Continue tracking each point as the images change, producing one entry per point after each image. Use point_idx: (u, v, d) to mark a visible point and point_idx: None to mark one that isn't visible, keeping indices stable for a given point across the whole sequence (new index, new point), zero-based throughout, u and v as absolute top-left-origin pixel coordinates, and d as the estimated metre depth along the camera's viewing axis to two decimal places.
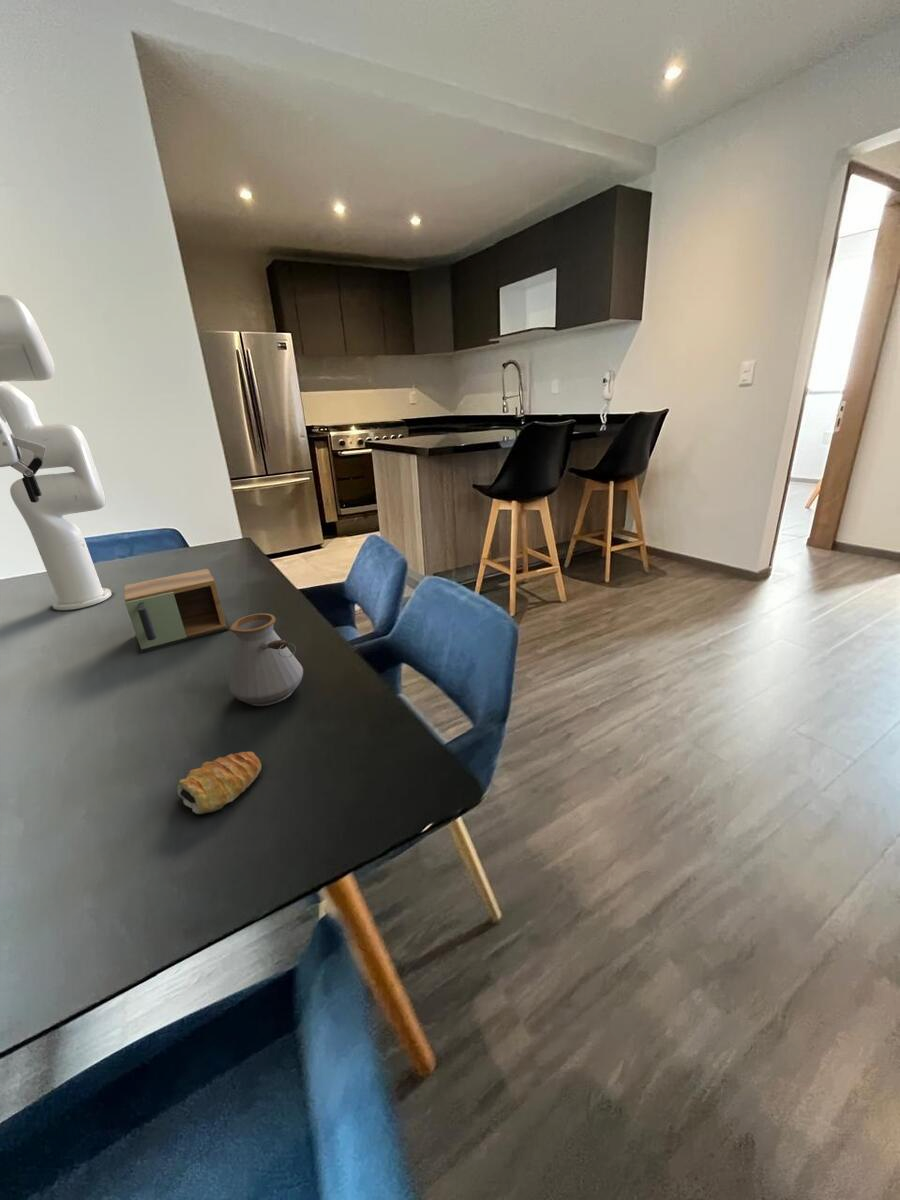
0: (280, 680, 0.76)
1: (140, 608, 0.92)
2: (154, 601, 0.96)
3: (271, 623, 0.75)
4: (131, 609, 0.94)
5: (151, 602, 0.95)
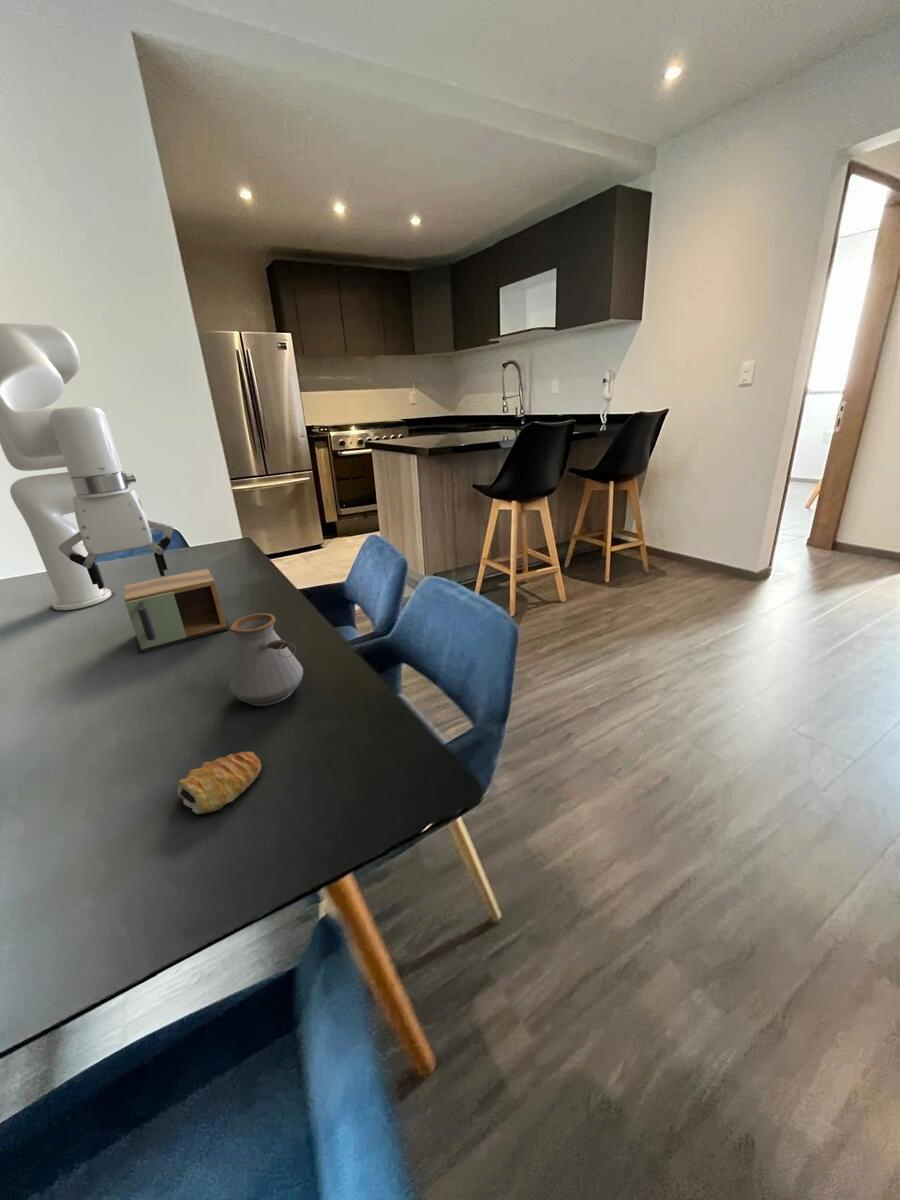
0: (280, 680, 0.76)
1: (140, 608, 0.92)
2: (154, 601, 0.96)
3: (271, 623, 0.75)
4: (131, 609, 0.94)
5: (151, 602, 0.95)
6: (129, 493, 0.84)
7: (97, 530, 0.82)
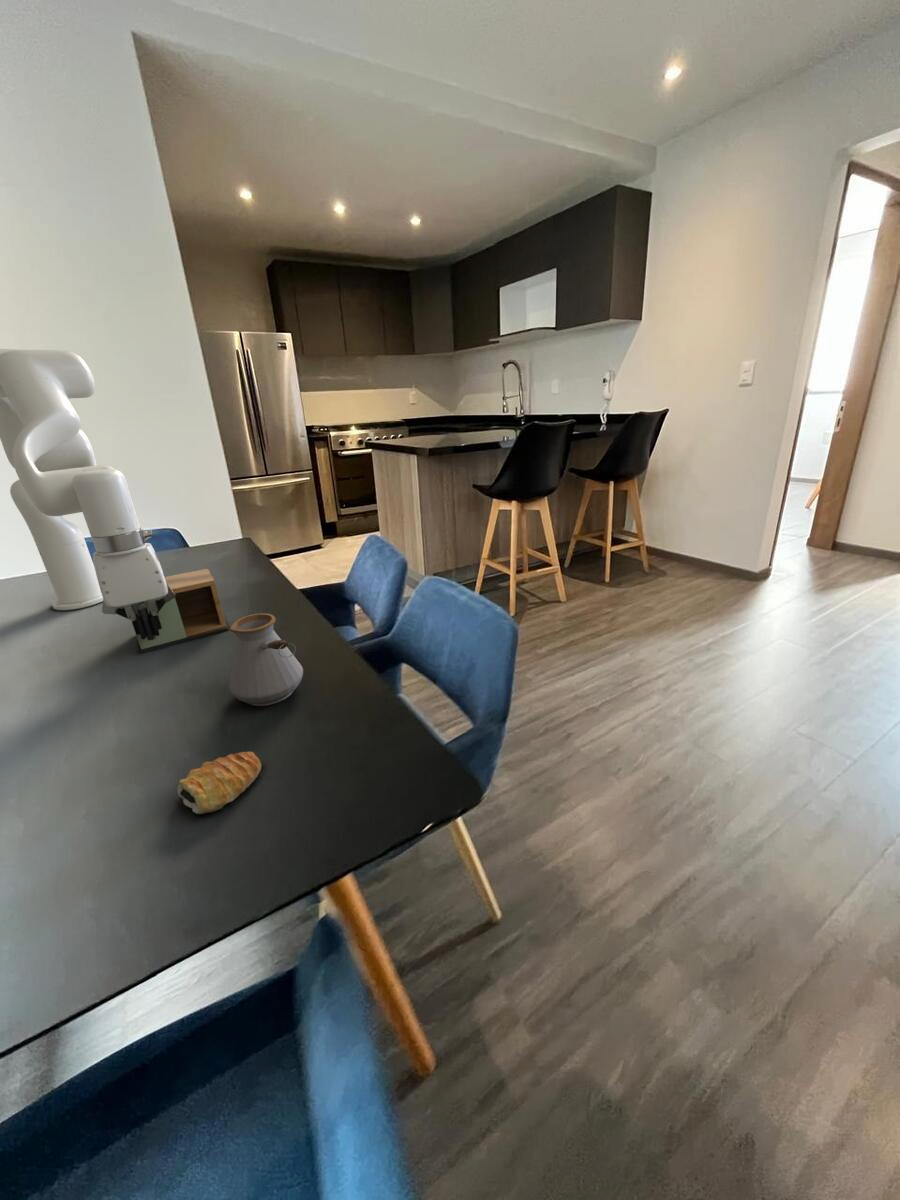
0: (280, 680, 0.76)
1: (140, 608, 0.92)
2: None
3: (271, 623, 0.75)
4: None
5: None
6: (146, 549, 0.87)
7: (116, 585, 0.86)
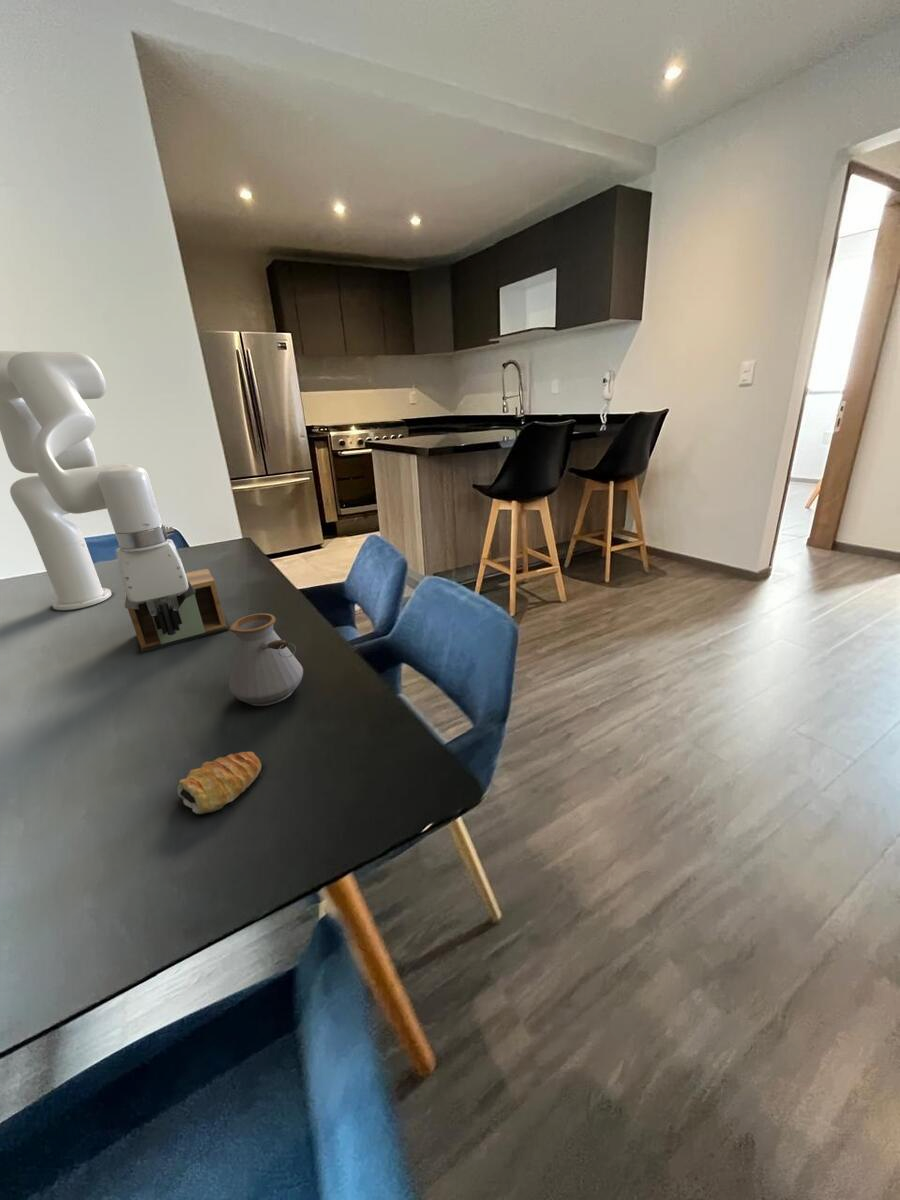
0: (280, 680, 0.76)
1: (161, 603, 0.93)
2: None
3: (271, 623, 0.75)
4: None
5: None
6: (168, 545, 0.89)
7: (139, 580, 0.88)
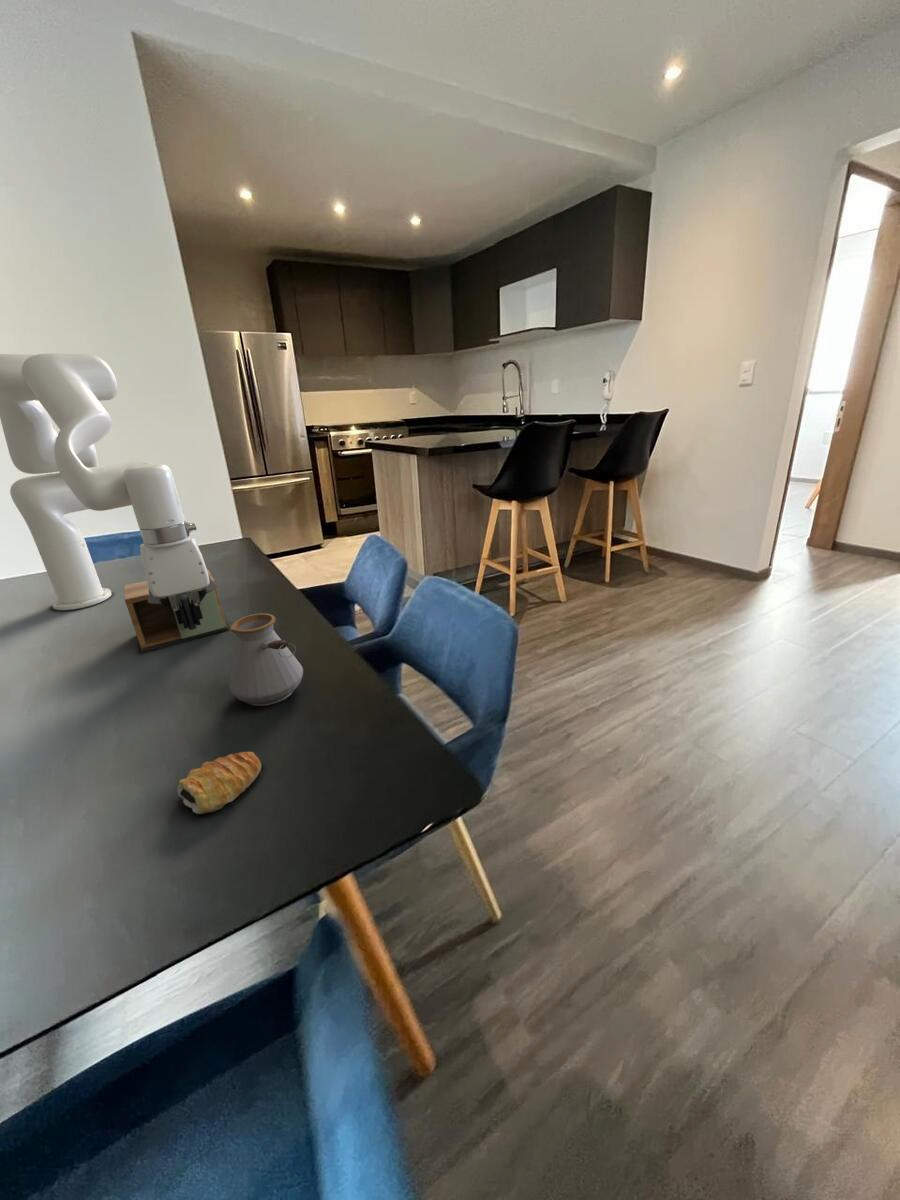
0: (280, 680, 0.76)
1: (183, 598, 0.95)
2: None
3: (271, 623, 0.75)
4: None
5: None
6: (191, 541, 0.91)
7: (162, 575, 0.90)
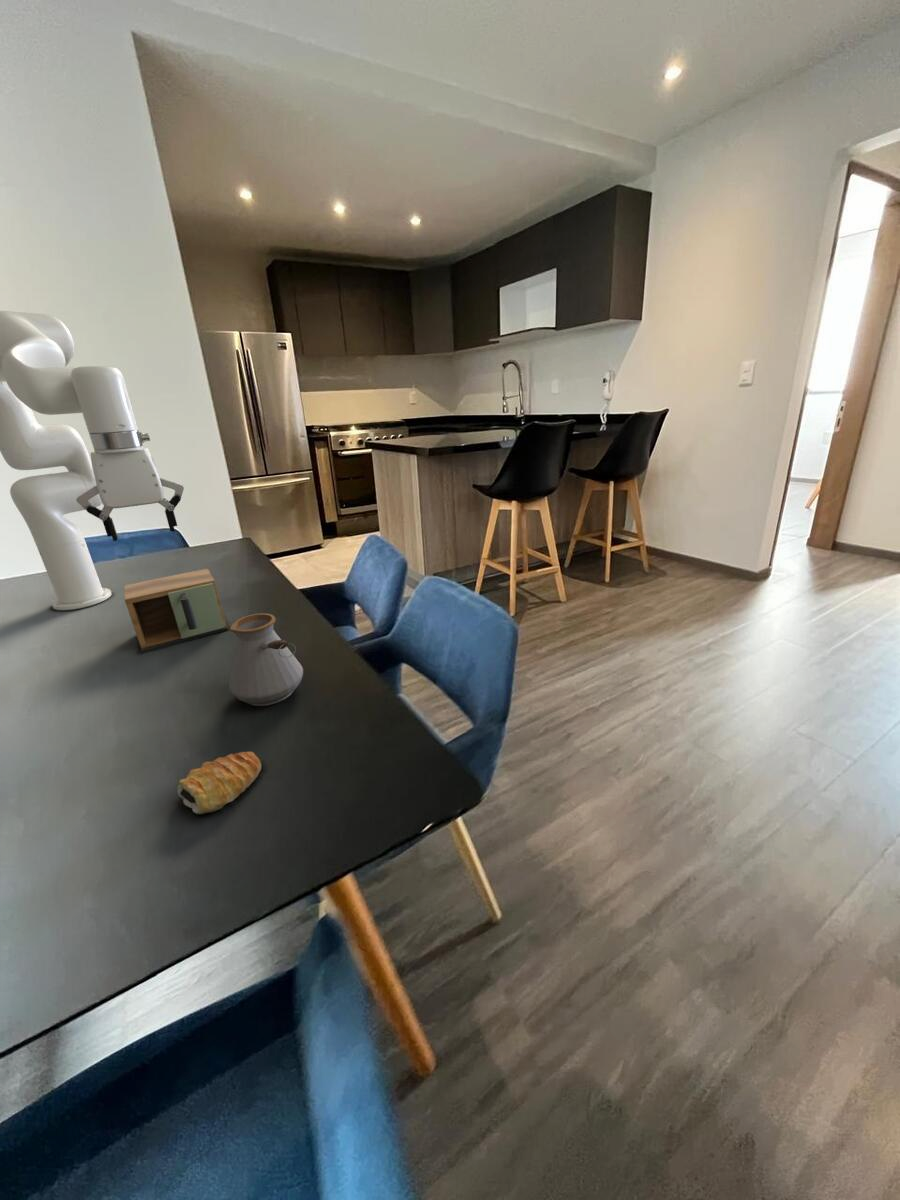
0: (280, 680, 0.76)
1: (183, 598, 0.95)
2: (195, 592, 0.99)
3: (271, 623, 0.75)
4: (173, 599, 0.97)
5: (192, 593, 0.99)
6: (143, 450, 0.89)
7: (113, 484, 0.88)
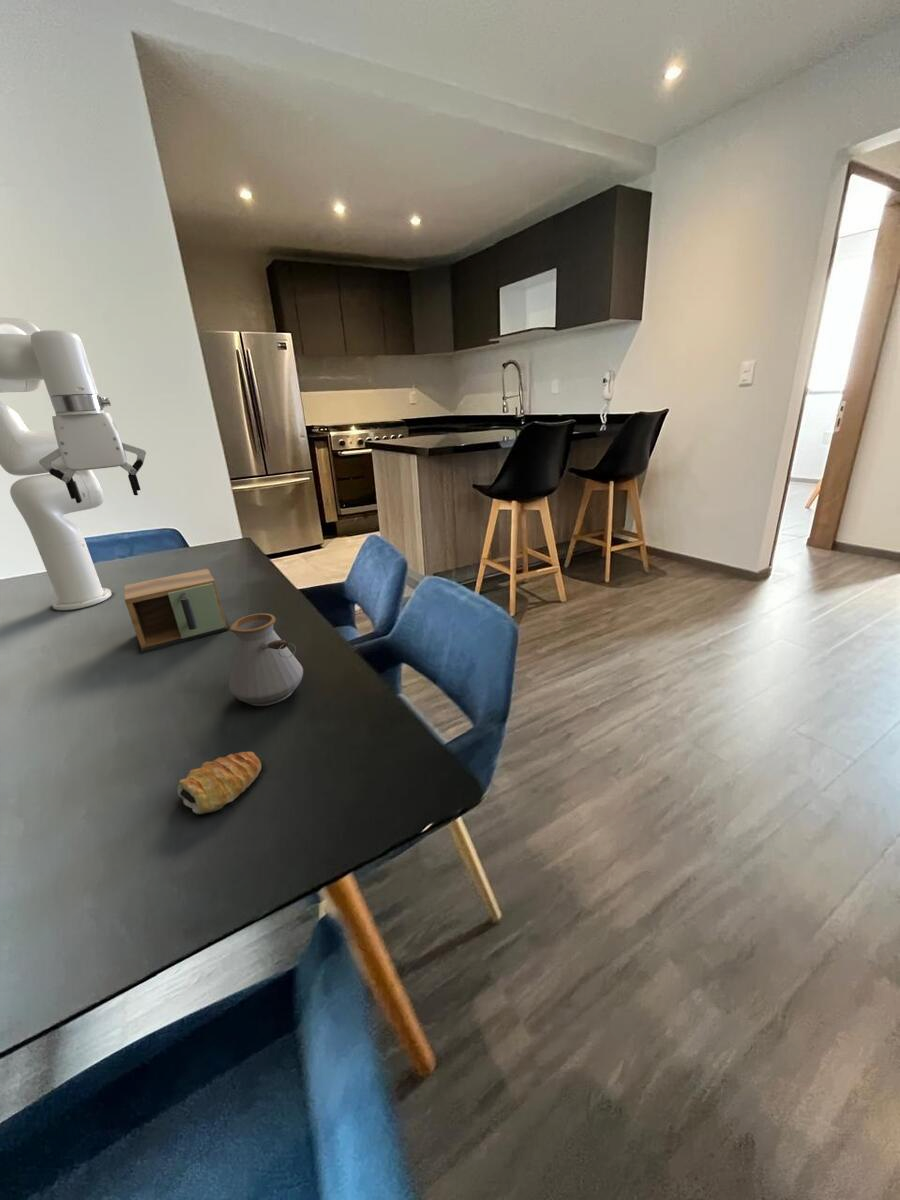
0: (280, 680, 0.76)
1: (183, 598, 0.95)
2: (195, 592, 0.99)
3: (271, 623, 0.75)
4: (173, 599, 0.97)
5: (192, 593, 0.99)
6: (104, 414, 0.92)
7: (74, 446, 0.91)
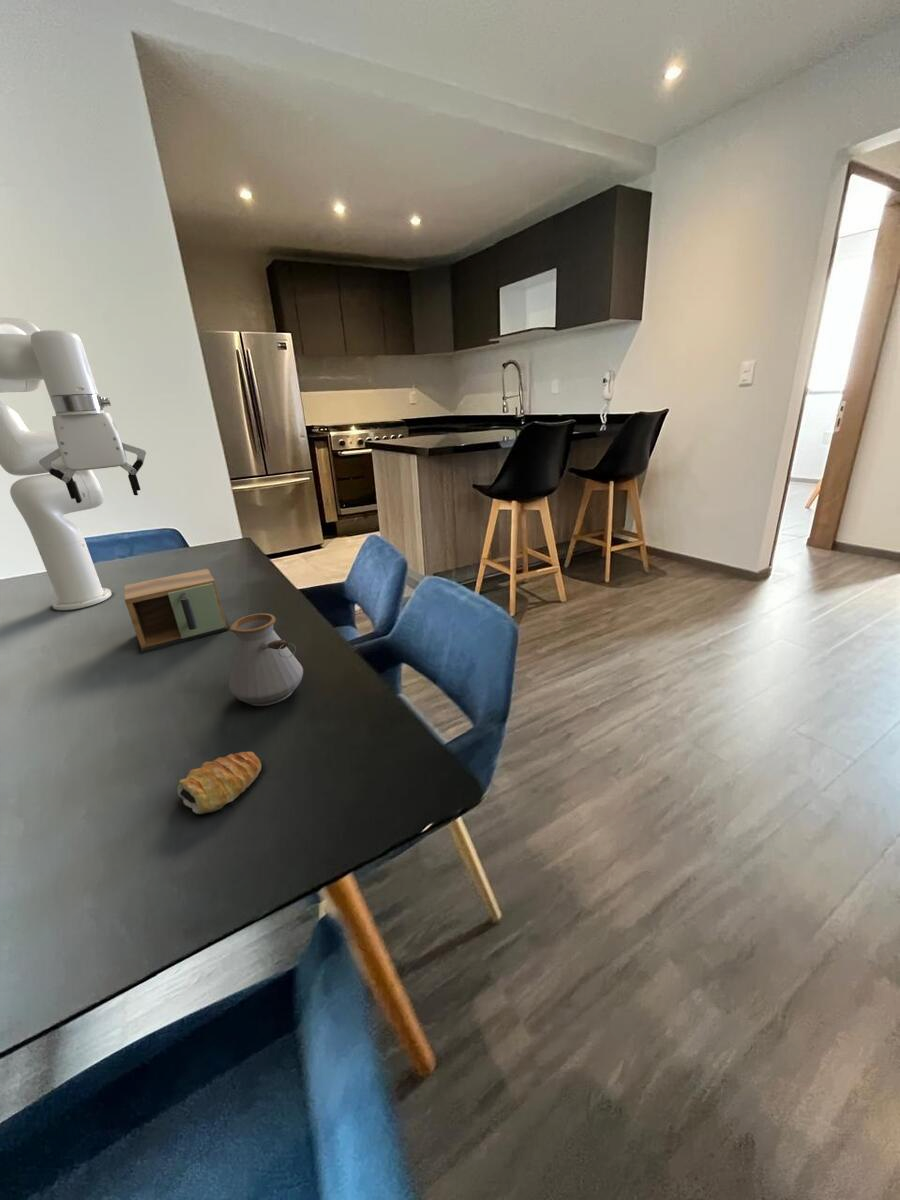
0: (280, 680, 0.76)
1: (183, 598, 0.95)
2: (195, 592, 0.99)
3: (271, 623, 0.75)
4: (173, 599, 0.97)
5: (192, 593, 0.99)
6: (104, 414, 0.92)
7: (74, 446, 0.91)
